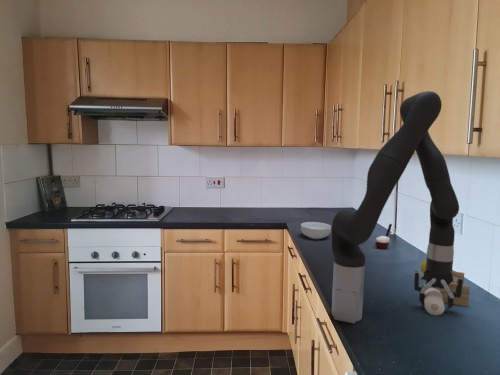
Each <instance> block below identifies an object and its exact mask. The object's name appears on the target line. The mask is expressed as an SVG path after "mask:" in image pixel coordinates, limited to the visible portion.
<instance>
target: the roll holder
mask: <svg viewBox="0 0 500 375" xmlns="http://www.w3.org/2000/svg"><path fill="white" fill-rule="evenodd" d="M452 276H453V277H456V278H458V277H461V278H462V280H463V285H462V292H461V297H460V298H458V297H455V298H454V300H453V305H456V306H463V307H468V306H469V300H470V299H469V297H470V288H471V286H470V284H465V283H464V280H465V272H461V271H460V272H459V271H453V270H452ZM456 286H457V285H456V284H455V282H454V281H452V282H451V283H450V284H449V287H450V289H451V290H452V292H456ZM431 288H434V287H432V286H431ZM435 289H437V290H439V291H440V292H441V294H442V298H443V302H444V304H447V302H448V296H449V294H448V293H447V291H446V290H445V288H443V289H440V288H438V287H436V288H435Z"/></svg>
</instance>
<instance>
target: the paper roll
mask: <svg viewBox="0 0 500 375" xmlns="http://www.w3.org/2000/svg"><path fill="white" fill-rule="evenodd" d="M423 305H424V308H425V311H426V312H427V313H428V314H430V315H431V316H441V315H442V314H443V313H444V312H445V310H446V309H445V308H446V307H445V303H444V302H443V298H442V294H441V292H440V291H439V290H437V289H435V288H432V287H430V288H429V289H427V290H426V291H425V297H424V304H423Z"/></svg>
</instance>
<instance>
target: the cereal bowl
mask: <svg viewBox="0 0 500 375" xmlns="http://www.w3.org/2000/svg"><path fill="white" fill-rule="evenodd" d="M300 231H301V232H302V234H303V235H304V236H306V237H308V238H309V239H312V240H321V239H323V238H326V237H328V236H329V235H330V234H331V233H332V225H330V224H327V223H324V222H319V221H318V222H317V221H306V222H302V223H301V224H300Z"/></svg>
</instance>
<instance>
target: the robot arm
mask: <svg viewBox="0 0 500 375" xmlns="http://www.w3.org/2000/svg"><path fill="white" fill-rule="evenodd" d="M441 110H442V99H441V97H440V96H439V94H438V93H437V92H435V91H429V90H428V91H421V92H418V93H416V94H413V95H411V96H410V97H407V98H405V99H404V100H403V101H402V103H400V107H399V114H400V118H401V121H402V123H403V124H402V125H401V127H400V128H399V129H398V130H397V132H395V133H394V134H393V136H392V137H391V138H390V139H389V140H388V141H387V142H386V143H385V144H384V145H383V146H382V147H381V148H380V150H379V151H378V152H377V154H376V156H374V159H373V160H372V163H371V164H370V166H369V168H368V171H367V176H366V190H365V195H364V198H363V200H362V202H361V203H360V205H359V206H358V208H357V210H356V211H355V210H352V209H347V208H346V209H345V208H344V209H341V210H340V211H338V212H336V214H335V215H334V218H333V220H332V223H331V251H332V255H333V269H332V270H333V272H332V273H333V275H332V276H333V277H332V291H331V292H332V293H331V316H332V317H333V320H335V321H339V322H344V323H350V324H356V323H357V322H359V321H361V320H362V318H363V308H364V307H363V305H364V304H363V302H364V286H365V269H366V268H365V267H366V255H365V253H364V252H363V251H362V249H361V248H360V246H359V245H363V244H364V243H366V242H367V241H368V240H369V239H370V237H371V236H372V234H373V233H374V230H375V229H376V226H377V224H378V222H379V219H380V216H381V214H382V212H383V210H384V207H385V206H386V204H387V202H388V200H389V198H390V196H391V194H392V192H393V191H394V188H395V187H396V185H398V184H397V183H398V182H399V180H400V179H401V177H402V175H403V173H404V172H405V170H406V168H407V166H408V164H409V163H410V161H411V159H412V157H413V156H414V154H415V152H416V155H417V157H418V161H419V164H420V169H421V171H422V175H423V178H424V183H425V185H426V188H427V189H428V191H429V195H430V198H431V201H430V205H429V220H430V222H429V223H430V227H429V228H430V229H429V235H428V237H429V238H428V245H427V247H426V259H425V260H426V270H425V272H424V273H422V272H421V271H418V270H415V271H414V280H413V281H414V282H413V283H414V285H413V288H414V291H415V292H419V302H420V303H421V304H422V305H425V304H424V297H425V291H426V290H427V289H429V288H432V287H434V288H436V287H438V288H440V289H443V288H445V290H446V291H447V293H448V294H449V296H448V302H447V303H446V307H447V309H448V310H449V309H450V310H451V308H453V307H454V304H453V300H454V298H455V297H458V298H460V297H461V292H462V285H463V284H464V283H463V280H462V278H461V277H458V278H456V277H453V276H452V271H453V266H454V257H455V256H454V254H455V251H454V250H455V249H454V248H455V247H454V245H455V234H456V232H455V228H454V225H453V222H454V218H456V216H457V215H458V213H459V210H460V203H459V201H458V200H459V199H458V198H457V197H458V196H457V195H456V192H455V190H454V187H453V185H452V181H451V178H450V172H449V168H448V166H447V161H446V159H445V157H444V155H443V153H442V152H441V151H440V149H439V148H438V146H437V145H436V144H435V142H434V141H433V139H432V136H431V134H430V133H429V130H430V128H431V127H432V125H433V124H434V123H435V122H436V120H437V118H438V117H439V115H440V113H441ZM441 153H442V154H441ZM422 277H424V279H425V282H424V283H423V284H422V285H421V286H419V283H420V280H422V279H423V278H422ZM452 281H454V282H455V284H456V285H457V286H456V292H452V290H451V289H450V287H449V284H450V283H451V282H452Z"/></svg>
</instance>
